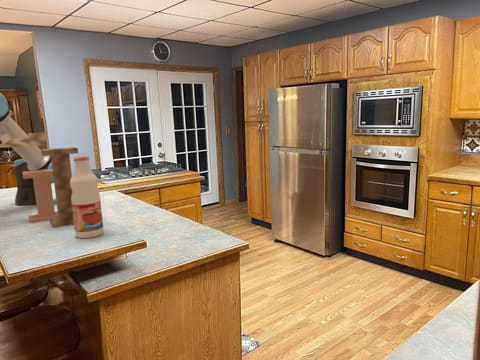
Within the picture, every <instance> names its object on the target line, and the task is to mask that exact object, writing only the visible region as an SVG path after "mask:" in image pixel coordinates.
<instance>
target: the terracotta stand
mask: <svg viewBox="0 0 480 360" xmlns="http://www.w3.org/2000/svg"><path fill="white" fill-rule="evenodd" d="M22 173H23V178H24V179H26V178H33V182H34V189H35V197H36V204H35V205H36V209H37V214H33V215H32V214H31V215H30V214H29V215H28V221H29V224H33V223H34V224H35V223H41V222H46V220H47V221H50V219H54V218H59V217H58V210H57V211H55V203H54V198H53V196H54V195H53V189H52V188H53V187H52V184H51V179H50V176H53V170H52V169H47V170H36V171H26V172H22ZM40 221H41V222H40Z"/></svg>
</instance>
